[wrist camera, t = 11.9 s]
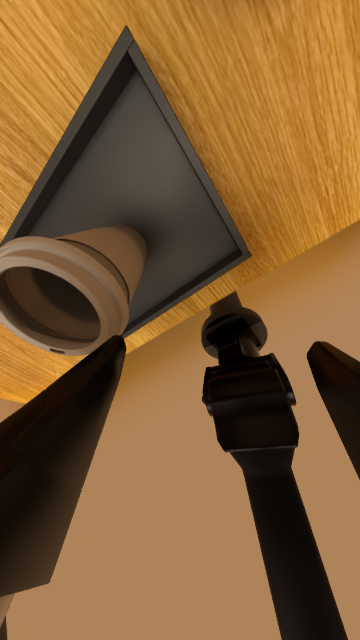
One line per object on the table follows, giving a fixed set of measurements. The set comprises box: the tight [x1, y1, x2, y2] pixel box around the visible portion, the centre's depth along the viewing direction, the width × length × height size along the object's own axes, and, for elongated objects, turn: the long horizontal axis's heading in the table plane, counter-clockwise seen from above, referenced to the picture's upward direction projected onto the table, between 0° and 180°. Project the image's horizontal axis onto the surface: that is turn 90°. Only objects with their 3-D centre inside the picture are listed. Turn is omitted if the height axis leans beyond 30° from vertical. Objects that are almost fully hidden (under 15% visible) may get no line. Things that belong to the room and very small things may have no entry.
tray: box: [0, 26, 252, 338], centre depth 18 cm, size 15×19×3 cm
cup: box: [0, 225, 147, 356], centre depth 14 cm, size 7×7×12 cm
